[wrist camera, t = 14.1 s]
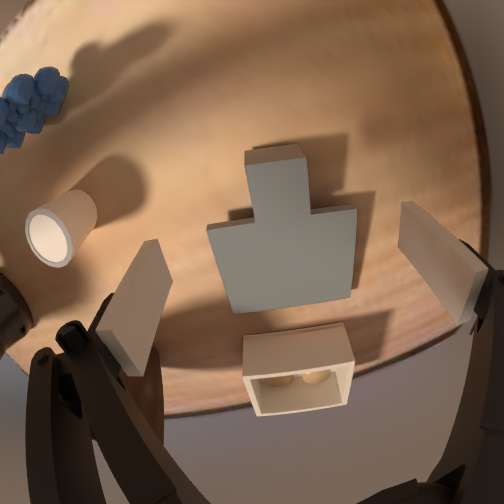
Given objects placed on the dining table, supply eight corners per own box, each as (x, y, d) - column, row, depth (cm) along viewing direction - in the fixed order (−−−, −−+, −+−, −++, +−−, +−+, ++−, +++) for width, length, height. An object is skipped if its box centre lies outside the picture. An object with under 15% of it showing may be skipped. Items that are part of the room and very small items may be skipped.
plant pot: (115, 371, 45) (91, 443, 31) (81, 314, 37) (39, 396, 24) (189, 378, 45) (176, 462, 31) (167, 318, 37) (138, 421, 23)
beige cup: (49, 201, 28) (15, 227, 22) (81, 173, 26) (45, 195, 20) (77, 245, 31) (50, 276, 25) (112, 222, 29) (84, 253, 23)
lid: (234, 296, 37) (233, 320, 34) (194, 160, 25) (187, 176, 22) (344, 280, 36) (352, 303, 33) (347, 138, 24) (362, 152, 21)
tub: (256, 381, 44) (256, 416, 38) (243, 335, 38) (242, 376, 32) (338, 369, 43) (346, 404, 37) (343, 321, 37) (355, 360, 31)
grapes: (77, 44, 19) (-1, 37, 8) (101, 87, 22) (22, 94, 11) (17, 111, 21) (-55, 135, 11) (37, 151, 24) (-33, 187, 14)
